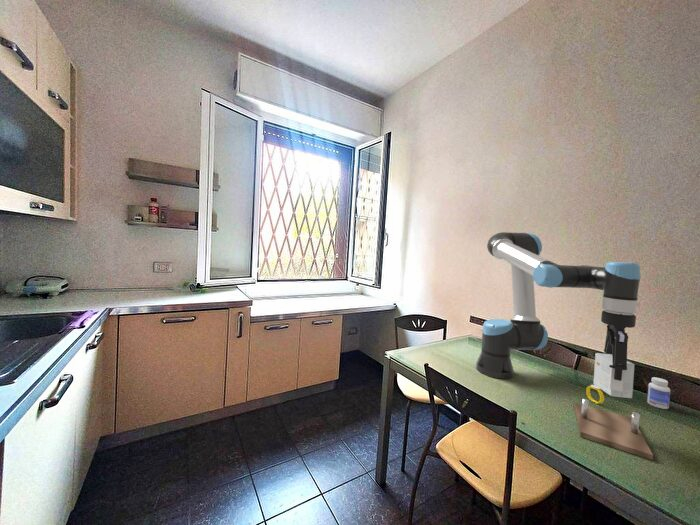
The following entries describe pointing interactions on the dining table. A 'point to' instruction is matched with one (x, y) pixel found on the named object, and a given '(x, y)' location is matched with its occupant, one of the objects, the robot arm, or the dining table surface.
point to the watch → (598, 392)
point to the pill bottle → (658, 393)
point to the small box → (604, 372)
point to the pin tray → (611, 429)
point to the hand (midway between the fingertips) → (612, 383)
